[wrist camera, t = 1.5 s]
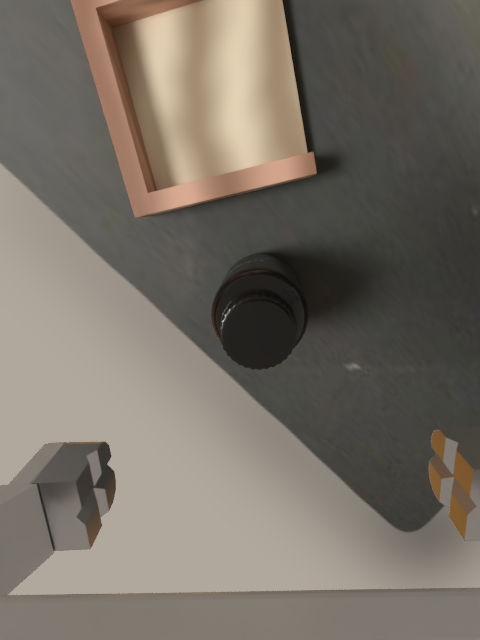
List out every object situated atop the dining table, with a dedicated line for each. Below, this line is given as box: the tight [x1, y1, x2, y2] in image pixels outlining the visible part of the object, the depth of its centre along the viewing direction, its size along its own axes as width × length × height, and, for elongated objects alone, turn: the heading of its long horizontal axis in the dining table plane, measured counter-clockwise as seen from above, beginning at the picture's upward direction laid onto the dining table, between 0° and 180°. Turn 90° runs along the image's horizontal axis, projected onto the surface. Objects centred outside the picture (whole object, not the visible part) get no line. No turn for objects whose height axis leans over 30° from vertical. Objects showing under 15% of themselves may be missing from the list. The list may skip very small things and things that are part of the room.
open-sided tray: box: [71, 0, 317, 218], centre depth 28 cm, size 14×15×4 cm
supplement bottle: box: [211, 254, 308, 370], centre depth 29 cm, size 7×7×12 cm
